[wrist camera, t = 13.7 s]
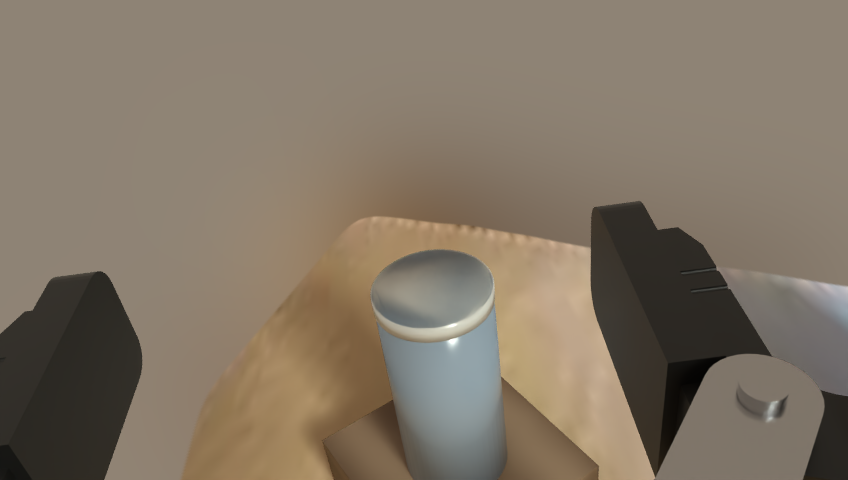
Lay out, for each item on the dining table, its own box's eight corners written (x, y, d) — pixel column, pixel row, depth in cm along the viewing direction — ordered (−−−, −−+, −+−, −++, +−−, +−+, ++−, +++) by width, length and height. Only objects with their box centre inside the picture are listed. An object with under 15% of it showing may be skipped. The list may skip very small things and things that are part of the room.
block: (480, 396, 50) (475, 352, 47) (597, 510, 42) (598, 465, 39) (335, 483, 45) (322, 440, 43) (435, 629, 38) (426, 586, 35)
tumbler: (467, 398, 44) (447, 235, 37) (530, 460, 40) (519, 289, 33) (386, 447, 42) (348, 283, 35) (443, 518, 38) (413, 348, 31)
